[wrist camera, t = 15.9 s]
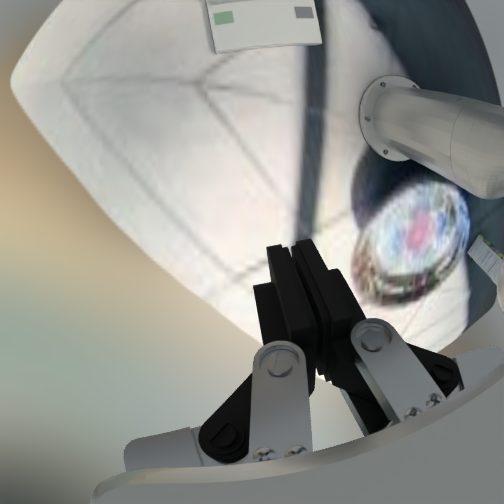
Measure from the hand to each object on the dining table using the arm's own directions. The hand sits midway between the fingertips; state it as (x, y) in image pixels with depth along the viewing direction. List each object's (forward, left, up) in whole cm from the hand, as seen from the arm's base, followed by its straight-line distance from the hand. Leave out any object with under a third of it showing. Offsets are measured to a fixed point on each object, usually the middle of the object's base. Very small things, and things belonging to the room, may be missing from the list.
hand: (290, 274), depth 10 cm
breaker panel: (-5, -21, -25) cm, 33 cm away
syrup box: (-50, +26, -25) cm, 62 cm away
